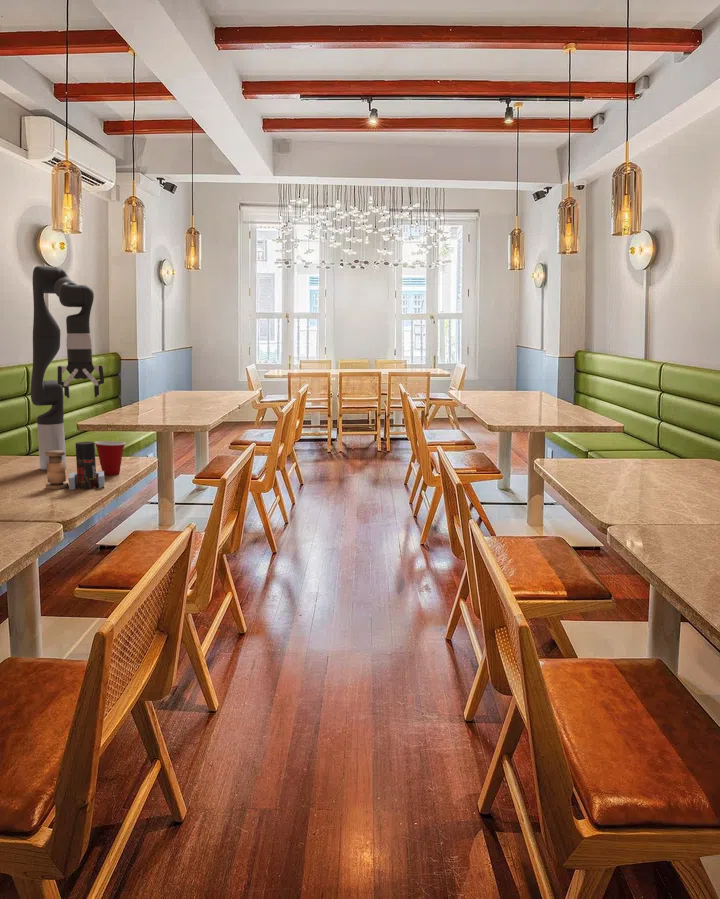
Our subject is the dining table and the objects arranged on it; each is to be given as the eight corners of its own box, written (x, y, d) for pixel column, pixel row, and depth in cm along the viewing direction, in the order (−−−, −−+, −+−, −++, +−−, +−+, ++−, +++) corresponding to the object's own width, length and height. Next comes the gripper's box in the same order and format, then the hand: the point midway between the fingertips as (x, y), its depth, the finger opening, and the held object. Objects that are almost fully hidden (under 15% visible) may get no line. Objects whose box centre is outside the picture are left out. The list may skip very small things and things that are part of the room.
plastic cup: (133, 473, 274) (131, 441, 272) (105, 478, 266) (103, 444, 264) (117, 470, 281) (116, 438, 279) (90, 474, 273) (88, 441, 271)
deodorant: (80, 485, 253) (78, 441, 251) (98, 485, 254) (96, 441, 251) (75, 489, 247) (73, 444, 245) (94, 488, 248) (92, 444, 245)
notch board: (70, 484, 254) (69, 473, 254) (104, 482, 258) (103, 471, 257) (69, 490, 246) (68, 478, 245) (104, 487, 249) (103, 476, 249)
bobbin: (46, 485, 252) (44, 450, 250) (68, 484, 255) (66, 449, 253) (45, 490, 246) (42, 454, 244) (67, 488, 248) (65, 453, 246)
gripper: (102, 347, 249) (105, 396, 251) (56, 347, 244) (59, 397, 247) (102, 347, 242) (104, 398, 244) (54, 348, 237) (58, 399, 240)
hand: (82, 397), depth 246 cm, fingers open, 8 cm apart
